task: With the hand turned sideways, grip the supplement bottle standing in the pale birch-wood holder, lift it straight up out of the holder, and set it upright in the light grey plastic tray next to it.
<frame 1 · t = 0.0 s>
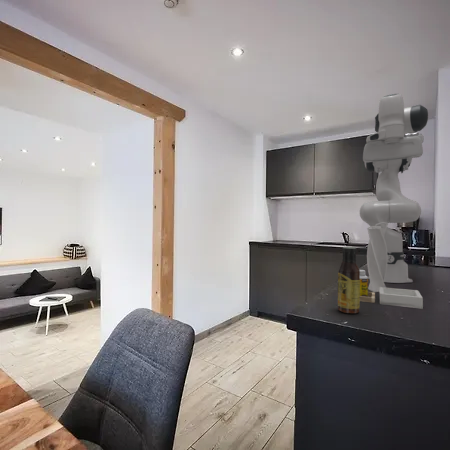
hand: (391, 171, 111), 48 cm above the countertop, tool pointing down, fingers open, 8 cm apart
supplement bottle: (359, 298, 104), resting in cup holder
cup holder: (359, 297, 104), on the countertop
skyscraper: (377, 291, 116), on the countertop
sauce bottle: (348, 312, 87), on the countertop
tray: (399, 302, 98), on the countertop
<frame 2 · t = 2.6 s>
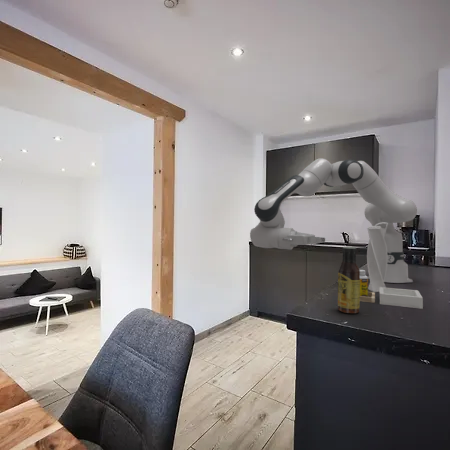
hand: (323, 240, 110), 21 cm above the countertop, tool horizontal, fingers open, 8 cm apart
nothing on the countertop moved.
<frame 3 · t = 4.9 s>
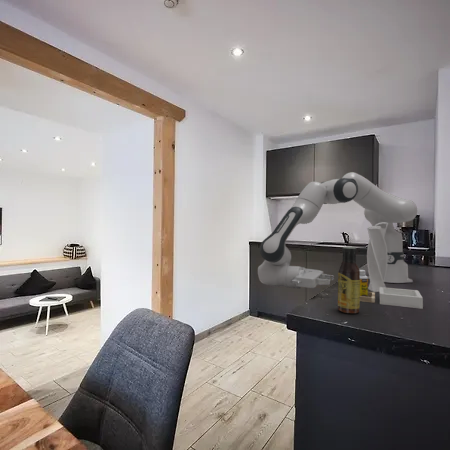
hand: (332, 279, 109), 6 cm above the countertop, tool horizontal, fingers open, 8 cm apart
nothing on the countertop moved.
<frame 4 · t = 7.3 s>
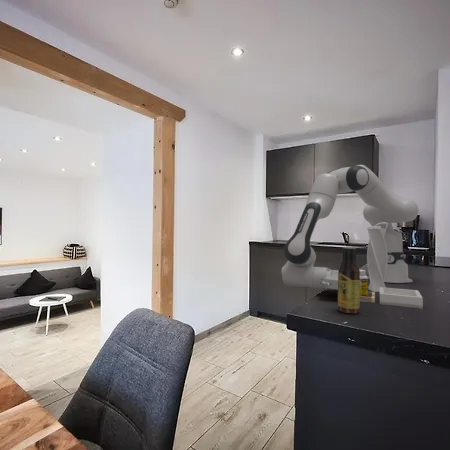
hand: (362, 281, 104), 6 cm above the countertop, tool horizontal, fingers closed on supplement bottle, 5 cm apart
supplement bottle: (359, 298, 104), resting in cup holder, touching gripper
everything else where it was.
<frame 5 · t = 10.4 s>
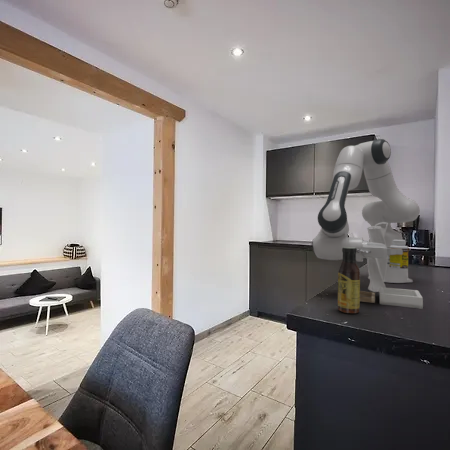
hand: (401, 250, 98), 18 cm above the countertop, tool horizontal, fingers closed on supplement bottle, 5 cm apart
supplement bottle: (398, 270, 98), point 11 cm above the countertop, touching gripper
everything else where it was.
when the fingers open (8 cm above the countertop, at t = 12.6 s): supplement bottle stays where it is, resting on tray.
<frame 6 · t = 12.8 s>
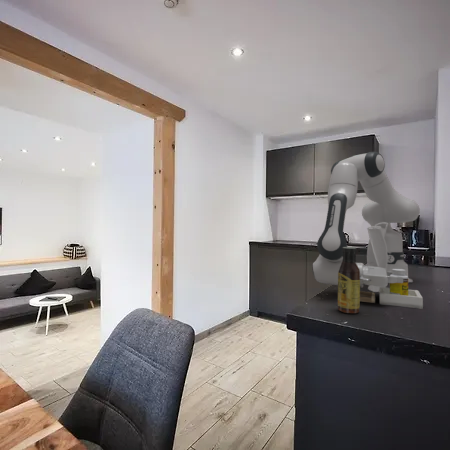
hand: (402, 277, 98), 8 cm above the countertop, tool horizontal, fingers open, 8 cm apart
supplement bottle: (398, 299, 98), point 1 cm above the countertop, touching tray
everything else where it was.
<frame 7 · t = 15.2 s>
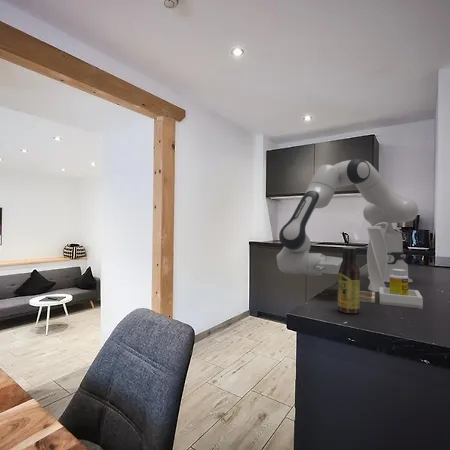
hand: (355, 266, 105), 11 cm above the countertop, tool horizontal, fingers open, 8 cm apart
nothing on the countertop moved.
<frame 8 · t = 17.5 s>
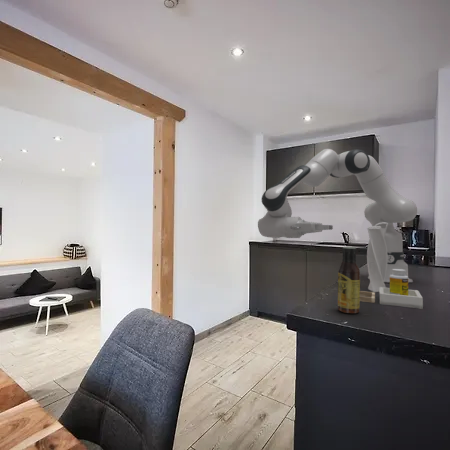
hand: (330, 227, 111), 26 cm above the countertop, tool horizontal, fingers open, 8 cm apart
nothing on the countertop moved.
at the end: supplement bottle inside the target area on the tray (0.1 cm from its centre), point 0.8 cm above the tray's base; supplement bottle tilted 0°; the gripper is holding nothing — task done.
